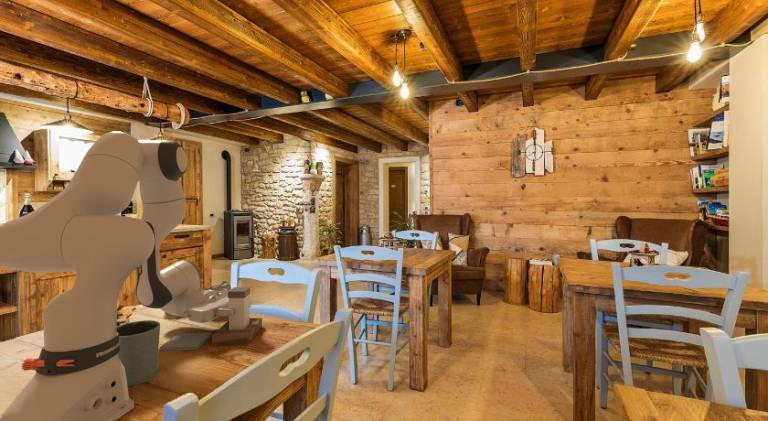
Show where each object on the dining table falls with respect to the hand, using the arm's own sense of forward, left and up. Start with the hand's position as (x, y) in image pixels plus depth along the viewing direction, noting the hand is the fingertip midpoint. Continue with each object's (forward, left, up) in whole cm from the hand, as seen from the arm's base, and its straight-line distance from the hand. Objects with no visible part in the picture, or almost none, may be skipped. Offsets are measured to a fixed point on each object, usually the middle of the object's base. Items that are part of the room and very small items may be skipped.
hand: (241, 308), depth 111 cm
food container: (+24, +16, -8) cm, 30 cm away
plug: (0, +1, -8) cm, 8 cm away
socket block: (0, +1, -8) cm, 8 cm away
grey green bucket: (-25, +16, -8) cm, 31 cm away
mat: (-5, +14, -8) cm, 17 cm away
